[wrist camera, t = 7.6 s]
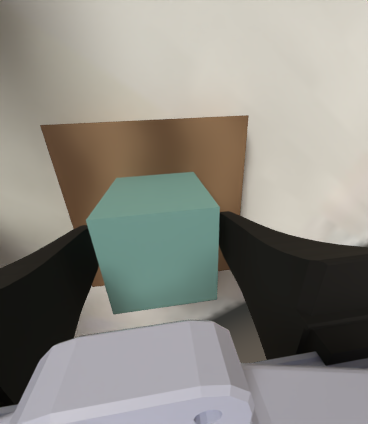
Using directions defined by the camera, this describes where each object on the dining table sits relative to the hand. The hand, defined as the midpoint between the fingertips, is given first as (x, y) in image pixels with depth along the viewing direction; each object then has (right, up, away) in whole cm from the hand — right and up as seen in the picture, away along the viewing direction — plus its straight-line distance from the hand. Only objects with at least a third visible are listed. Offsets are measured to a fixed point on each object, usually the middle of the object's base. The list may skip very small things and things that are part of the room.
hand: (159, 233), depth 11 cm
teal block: (0, +1, +2) cm, 3 cm away
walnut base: (-1, +2, +4) cm, 5 cm away
